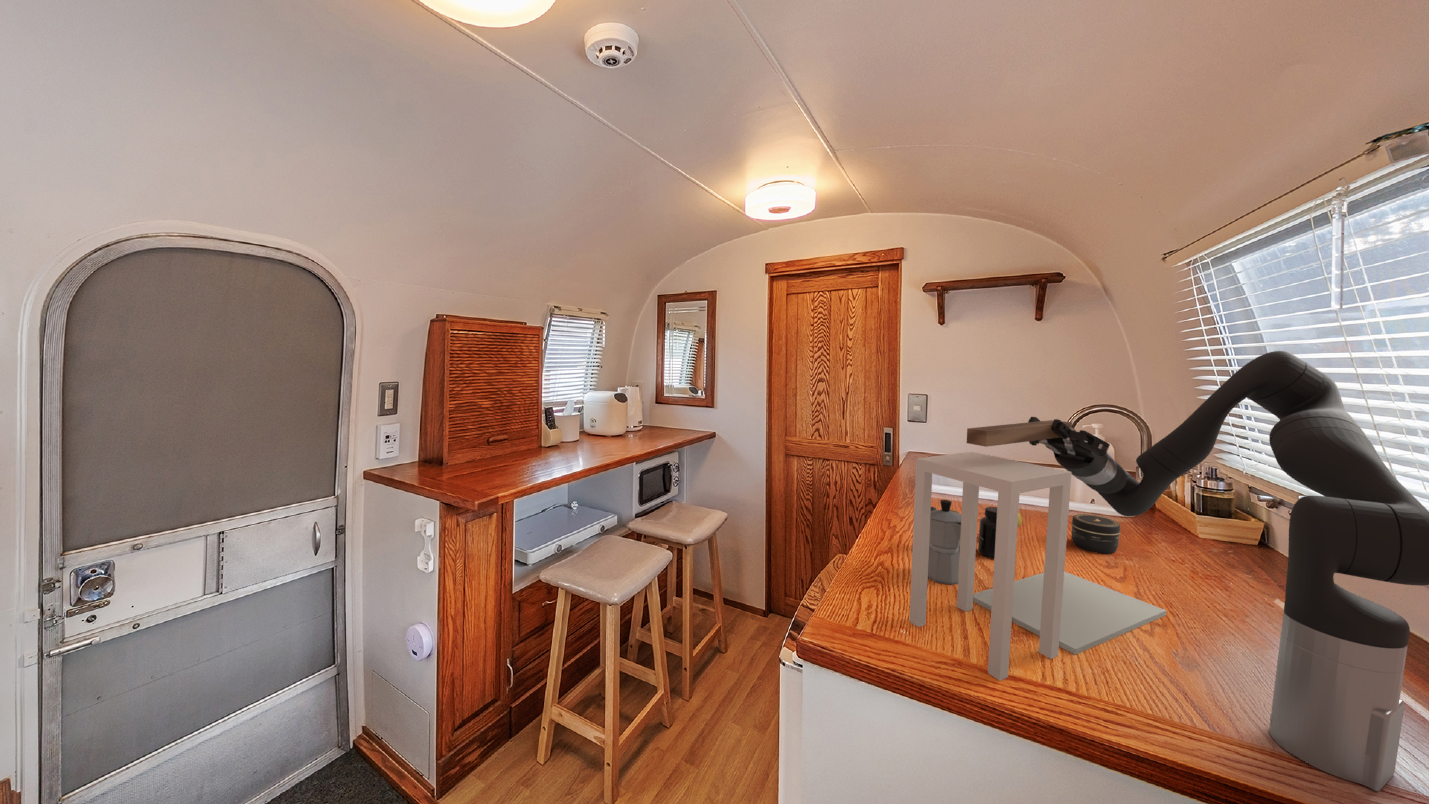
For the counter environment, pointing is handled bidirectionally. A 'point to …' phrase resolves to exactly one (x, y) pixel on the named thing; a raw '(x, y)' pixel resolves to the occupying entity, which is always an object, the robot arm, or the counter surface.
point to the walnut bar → (1012, 433)
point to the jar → (1095, 533)
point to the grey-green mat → (1077, 611)
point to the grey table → (1009, 484)
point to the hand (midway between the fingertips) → (1042, 422)
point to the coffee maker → (944, 544)
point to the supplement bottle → (988, 533)
